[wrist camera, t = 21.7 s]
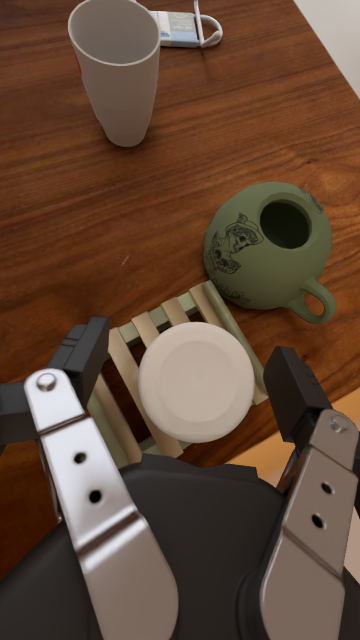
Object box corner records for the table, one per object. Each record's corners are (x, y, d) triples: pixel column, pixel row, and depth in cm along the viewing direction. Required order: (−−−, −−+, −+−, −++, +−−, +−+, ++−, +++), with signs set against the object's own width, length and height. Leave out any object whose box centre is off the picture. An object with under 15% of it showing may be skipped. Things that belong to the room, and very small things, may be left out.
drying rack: (134, 466, 26) (128, 496, 19) (79, 357, 27) (57, 352, 21) (252, 390, 28) (281, 395, 22) (197, 295, 30) (209, 274, 24)
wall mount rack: (215, 12, 39) (227, -50, 34) (231, 85, 37) (246, 33, 31) (108, 7, 37) (100, -59, 31) (117, 85, 35) (110, 28, 29)
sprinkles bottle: (205, 362, 23) (274, 348, 10) (185, 412, 22) (234, 467, 9) (157, 342, 23) (167, 300, 10) (136, 391, 22) (115, 415, 9)
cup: (110, 94, 34) (94, -18, 24) (167, 120, 34) (174, 19, 25) (80, 140, 32) (50, 40, 23) (141, 167, 32) (138, 79, 23)
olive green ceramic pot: (177, 239, 31) (187, 189, 23) (265, 198, 34) (304, 138, 25) (249, 359, 29) (290, 353, 21) (337, 305, 32) (405, 280, 23)
